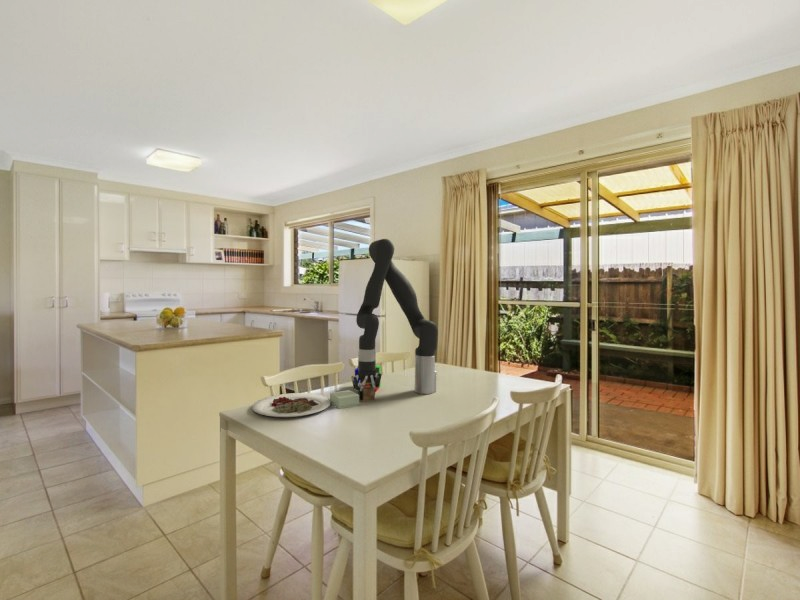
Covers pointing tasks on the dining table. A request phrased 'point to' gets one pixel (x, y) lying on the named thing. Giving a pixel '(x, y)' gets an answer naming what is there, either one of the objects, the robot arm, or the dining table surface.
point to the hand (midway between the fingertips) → (366, 398)
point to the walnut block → (368, 393)
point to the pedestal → (344, 399)
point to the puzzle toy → (377, 370)
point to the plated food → (291, 405)
